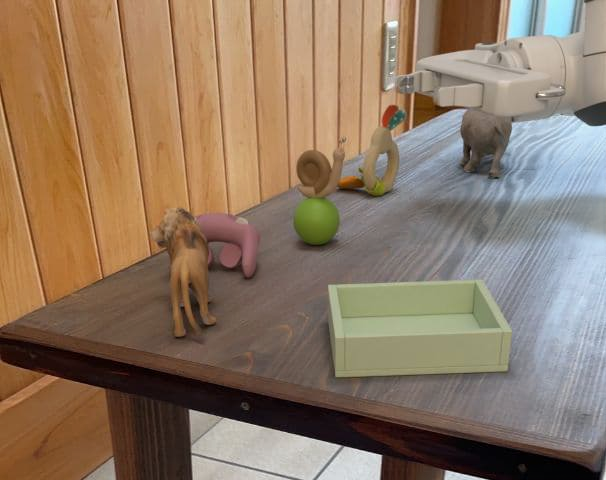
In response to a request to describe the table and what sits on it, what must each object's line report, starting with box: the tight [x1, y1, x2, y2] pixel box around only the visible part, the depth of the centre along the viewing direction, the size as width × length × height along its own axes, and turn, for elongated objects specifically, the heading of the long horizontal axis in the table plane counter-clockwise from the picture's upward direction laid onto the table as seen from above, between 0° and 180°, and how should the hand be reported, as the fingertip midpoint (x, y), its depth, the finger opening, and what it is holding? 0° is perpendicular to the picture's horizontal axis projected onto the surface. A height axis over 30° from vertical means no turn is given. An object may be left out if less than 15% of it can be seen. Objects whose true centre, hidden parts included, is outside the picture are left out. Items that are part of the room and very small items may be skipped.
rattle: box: [337, 104, 408, 197], centre depth 118 cm, size 8×8×12 cm
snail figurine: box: [293, 136, 347, 246], centre depth 98 cm, size 5×6×12 cm
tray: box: [327, 279, 513, 378], centre depth 76 cm, size 15×13×4 cm
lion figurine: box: [149, 206, 217, 339], centre depth 82 cm, size 15×5×9 cm, turn 15°
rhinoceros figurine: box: [459, 108, 513, 179], centre depth 128 cm, size 8×14×15 cm
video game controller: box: [168, 212, 261, 279], centre depth 94 cm, size 10×5×7 cm, turn 80°
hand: (416, 90), depth 96 cm, fingers open, 8 cm apart
